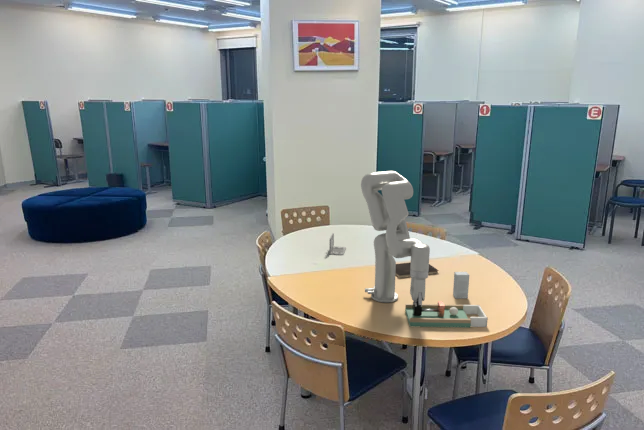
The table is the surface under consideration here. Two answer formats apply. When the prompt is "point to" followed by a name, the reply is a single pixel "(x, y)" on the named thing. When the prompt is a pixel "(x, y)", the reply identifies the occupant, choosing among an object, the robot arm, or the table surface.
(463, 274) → the skincare box
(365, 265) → the table surface
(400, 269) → the hardcover book
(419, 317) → the pitch board
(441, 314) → the kicker rod
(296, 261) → the table surface
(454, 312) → the ball
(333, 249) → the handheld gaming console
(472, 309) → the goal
